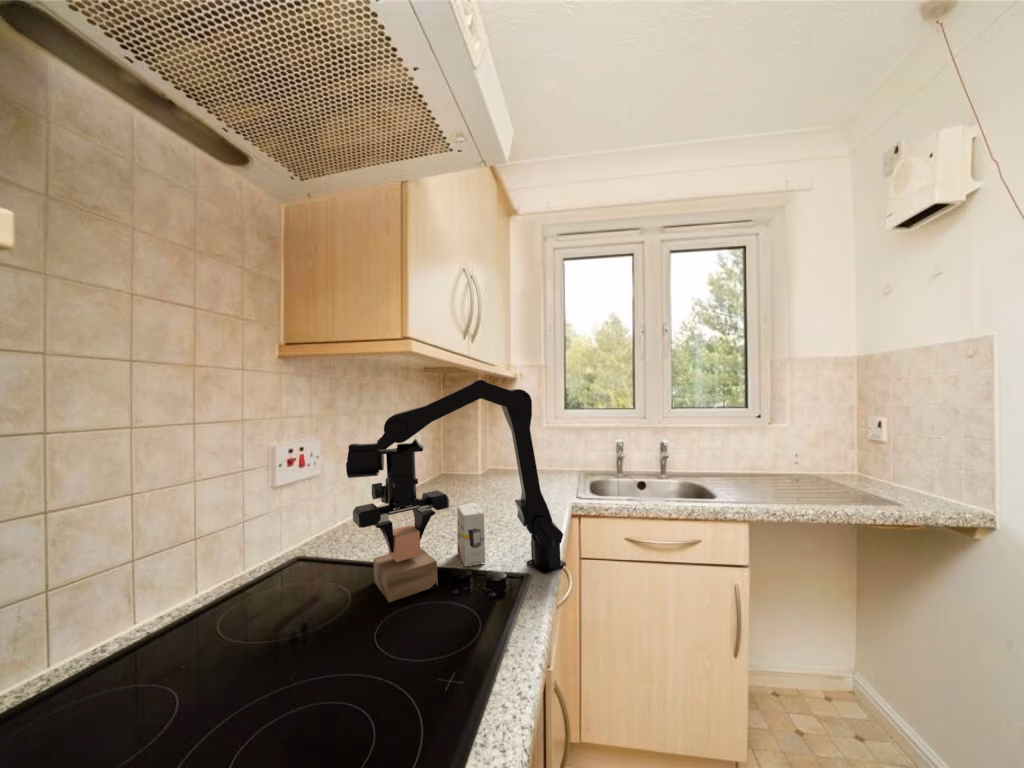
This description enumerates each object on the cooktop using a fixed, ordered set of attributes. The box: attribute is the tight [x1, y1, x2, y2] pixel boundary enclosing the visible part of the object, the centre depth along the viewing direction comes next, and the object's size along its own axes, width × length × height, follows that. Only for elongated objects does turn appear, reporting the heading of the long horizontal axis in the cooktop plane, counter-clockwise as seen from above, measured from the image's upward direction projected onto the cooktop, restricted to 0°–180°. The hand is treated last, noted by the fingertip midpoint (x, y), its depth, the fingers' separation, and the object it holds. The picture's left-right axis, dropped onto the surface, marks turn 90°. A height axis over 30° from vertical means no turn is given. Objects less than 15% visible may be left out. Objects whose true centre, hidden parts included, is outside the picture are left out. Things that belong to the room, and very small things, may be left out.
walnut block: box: [373, 546, 439, 603], centre depth 82 cm, size 10×10×5 cm
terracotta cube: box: [388, 524, 421, 562], centre depth 82 cm, size 5×5×5 cm
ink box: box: [456, 502, 486, 567], centre depth 93 cm, size 9×5×12 cm, turn 19°
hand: (404, 548), depth 82 cm, fingers closed on terracotta cube, 5 cm apart
